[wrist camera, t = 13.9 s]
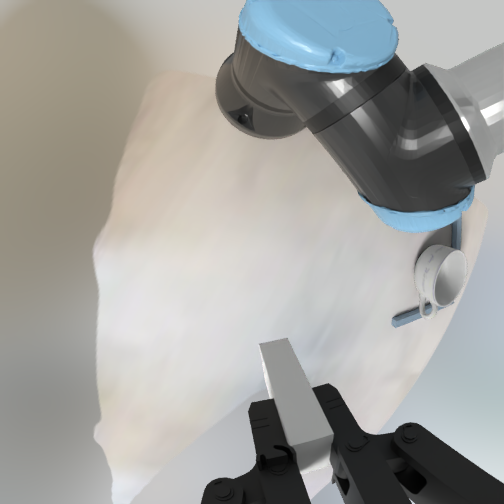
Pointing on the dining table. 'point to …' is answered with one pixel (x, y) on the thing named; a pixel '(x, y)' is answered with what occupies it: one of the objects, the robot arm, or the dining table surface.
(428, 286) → the teacup
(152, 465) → the dining table surface
